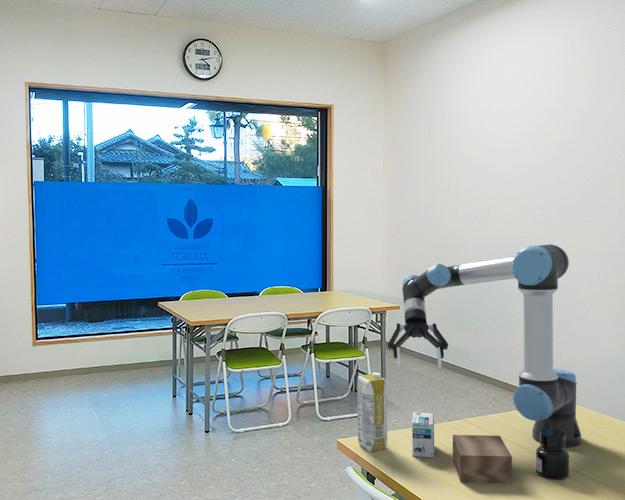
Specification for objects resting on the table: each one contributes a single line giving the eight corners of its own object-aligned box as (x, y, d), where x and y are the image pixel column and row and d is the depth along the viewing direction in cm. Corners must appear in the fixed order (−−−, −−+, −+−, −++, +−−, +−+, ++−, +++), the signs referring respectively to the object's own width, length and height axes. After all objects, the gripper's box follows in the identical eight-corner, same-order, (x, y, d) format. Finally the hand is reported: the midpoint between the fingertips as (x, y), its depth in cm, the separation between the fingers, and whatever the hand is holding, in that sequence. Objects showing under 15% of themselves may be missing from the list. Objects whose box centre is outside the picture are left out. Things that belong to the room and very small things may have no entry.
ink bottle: (542, 464, 184) (542, 424, 183) (573, 471, 178) (573, 431, 178) (530, 475, 177) (531, 434, 176) (562, 483, 171) (562, 441, 170)
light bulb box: (434, 458, 190) (433, 423, 189) (411, 456, 191) (411, 422, 191) (434, 445, 200) (434, 412, 200) (413, 444, 202) (413, 411, 201)
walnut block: (499, 461, 187) (499, 435, 187) (511, 484, 171) (511, 456, 171) (452, 460, 189) (452, 434, 188) (460, 483, 173) (460, 455, 172)
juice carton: (390, 449, 197) (389, 375, 196) (368, 453, 194) (367, 378, 193) (376, 439, 206) (375, 368, 205) (355, 443, 203) (354, 371, 202)
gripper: (449, 320, 221) (456, 372, 207) (379, 320, 223) (381, 371, 209) (451, 307, 216) (458, 360, 202) (380, 307, 217) (382, 359, 203)
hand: (419, 366), depth 205 cm, fingers open, 13 cm apart
